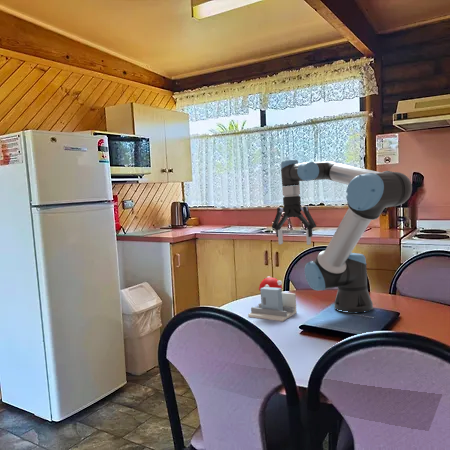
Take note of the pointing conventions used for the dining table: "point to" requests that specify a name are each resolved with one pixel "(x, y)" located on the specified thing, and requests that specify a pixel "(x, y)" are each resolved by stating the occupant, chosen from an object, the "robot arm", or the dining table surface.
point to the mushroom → (270, 283)
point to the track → (278, 315)
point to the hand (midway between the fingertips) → (294, 244)
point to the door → (271, 298)
